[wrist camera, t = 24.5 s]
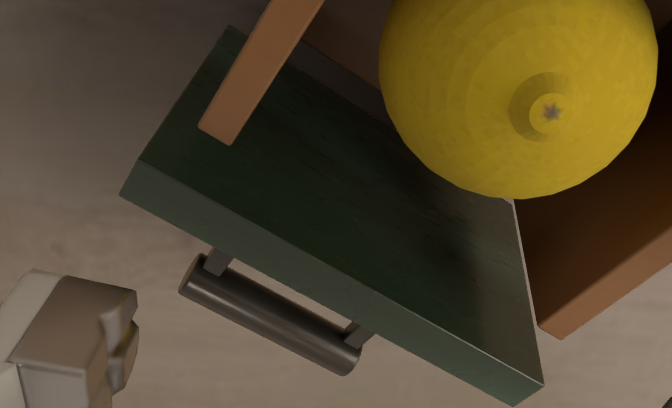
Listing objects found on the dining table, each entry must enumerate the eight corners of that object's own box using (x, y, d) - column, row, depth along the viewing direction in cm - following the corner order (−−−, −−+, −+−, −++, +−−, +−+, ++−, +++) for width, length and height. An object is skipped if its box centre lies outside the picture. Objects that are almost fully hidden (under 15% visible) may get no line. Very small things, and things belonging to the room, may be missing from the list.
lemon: (627, 4, 17) (816, 75, 10) (489, 161, 19) (558, 317, 12) (466, -130, 16) (541, -164, 9) (338, 52, 18) (310, 150, 11)
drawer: (408, 300, 26) (402, 481, 20) (153, 157, 23) (52, 316, 17) (900, -154, 15) (1233, -72, 9) (535, -526, 12) (649, -792, 6)
